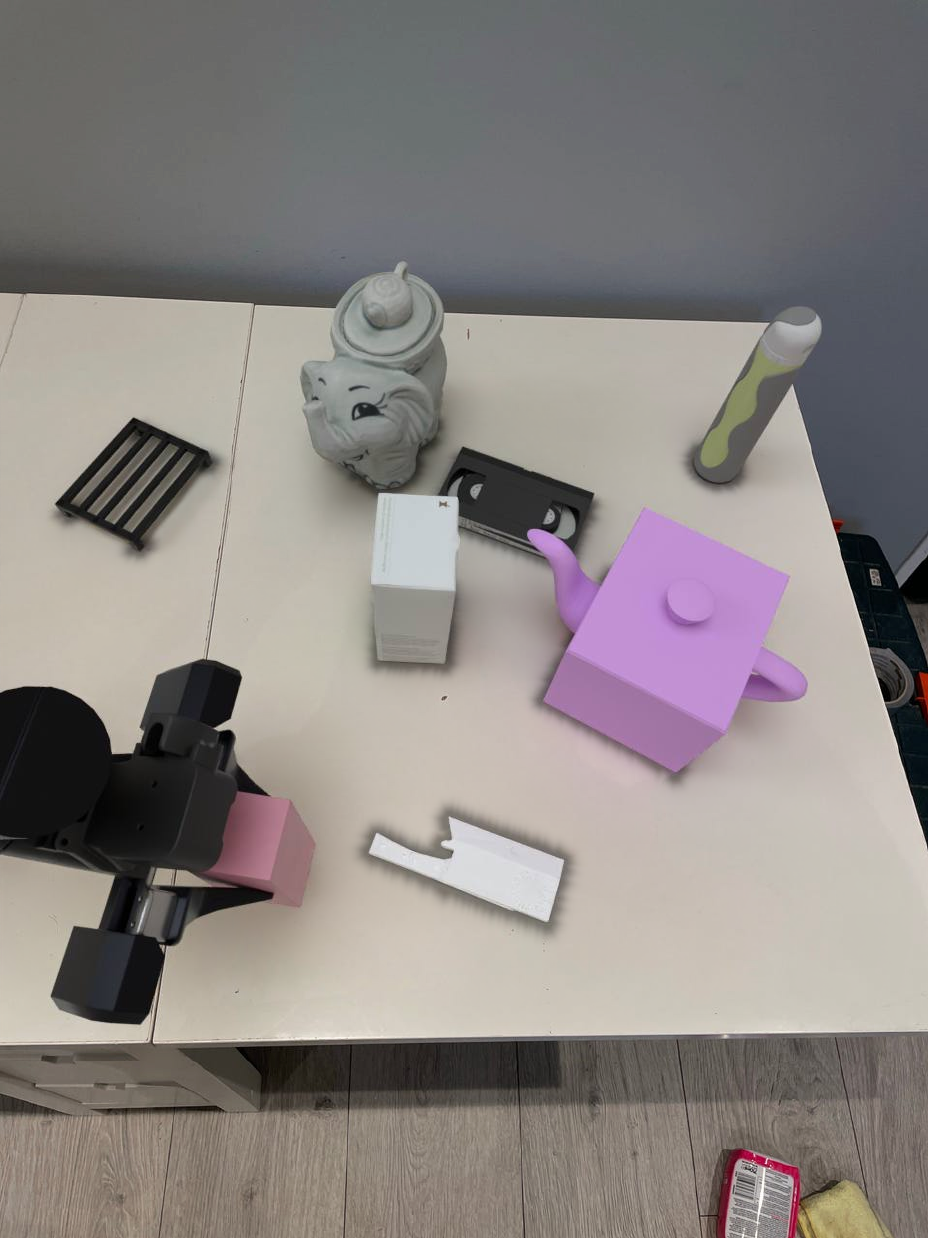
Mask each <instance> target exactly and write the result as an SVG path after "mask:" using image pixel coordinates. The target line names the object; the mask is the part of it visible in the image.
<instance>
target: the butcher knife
mask: <svg viewBox="0 0 928 1238" xmlns="http://www.w3.org/2000/svg"><path fill="white" fill-rule="evenodd" d="M448 824H449V829H450V836H451V839H450V840H449V839H445V840H443V841H441V843H440V846H441V847H442V848H444V849H447V850H449V851H452V852H453V853H452V855H451V857H449V858H445V859H443V858H439V857H436V856H431V855H428V854H427V855H426V854H424V853H420V852H417V851H414V850H411V849H410V848H407V847H405V846H403V845H401V844H399V843H397V842H395V841H393V840H392V839H389V838H388V837H386V836H384V835H382V834H381V833H379V832H376V834H375V835H374V838H373V840H372V843H371V846H370V848H369V850H368V855H371V856H372V857H373V856H374V857H376V858H378V859H380V860H381V859H382V860H384V861H386V862H388V863H391V864H394V865H397V866H399V867H402V868H405V869H407V870H410V871H412V872H415V873H417V874H420V875H423V876H424V877H428V878H430V879H433V880H436V881H438V882H440V883H442V884H445V885H447V886H450V887H452V888H455V889H457V890H460V891H461V892H463V893H464V892H465V893H468V894H469V895H472V896H474V897H476V898H479V899H481V900H483V901H486V902H489V903H492V904H494V905H496V906H499V907H500V908H504V909H506V910H509V911H512V912H514V911H516V912H519V913H520V914H524V915H525V916H529V917H531V918H534V919H537V920H539V921H542V922H544V923H548V922H549V919H550V916H551V913H552V910H553V906H554V904H555V899H556V895H557V891H558V888H559V885H560V881H561V877H562V872H563V868H564V863H565V859H562V858H560V857H557V856H554V855H552V854H549V853H547V852H544V851H541V850H539V849H536V848H534V847H531V846H528V845H526V844H523V843H520V842H518V841H516V840H515V841H514V840H512V839H509V838H507V837H504V836H501V835H499V834H497V833H494V832H492V831H488V830H485V829H483V828H480V827H477V826H476V825H472V824H470V823H467V822H464V821H462V820H459V819H457V818H454V817H451V816H448Z"/></svg>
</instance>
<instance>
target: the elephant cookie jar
mask: <svg viewBox="0 0 928 1238" xmlns="http://www.w3.org/2000/svg"><path fill="white" fill-rule="evenodd" d="M409 271H410V267H409V264H408V263H407V262H406V261H405V260H404V261H400V262H398V263H397V265H396V266H395V269H394V271H384V272H379V273H374V274H371V275H368V276H366V277H363V278H361V279H359V280H358V281H357V282H355V283H354V284H353V285H351V286H350V287H349V288H348V290H347V291H346V292H345V293H344V295H343V296H342V297H341V298H340V300H339V302H338V303H337V305H336V306H335V309H334V311H333V314H332V319H331V325H330V331H329V335H330V339H331V345H332V348H333V349H334V351H335V352H334V354H333V359H331V360H307V361H305V362H304V363H303V364H302V366H301V370H300V376H299V379H300V386H301V391H302V395H303V396H304V399H305V403H303V405H302V406H301V410H302V412H303V414H304V417H305V419H306V424H307V428H308V433H309V439H310V442H311V445H312V447H313V449H314V451H315V453H316V454H317V455H318V456H319V457H320V458H322V459H323V460H325V461H328V462H330V463H339V464H340V465H341V466H342V467H344V468H346V469H348V470H350V471H351V472H353V473H355V474H358V475H359V476H361V477H362V478H363V479H364V480H365V481H366V482H367V483H368V484H370V485H371V486H373V487H375V488H376V489H379V490H390V489H395V488H398V487H401V486H402V485H404V484H406V483H407V482H409V481H410V480H411V479H412V478H413V476H414V475H415V472H416V467H417V460H416V459H417V455H418V452H419V450H420V449H421V448H423V447H424V446H426V445H428V444H429V443H430V442H432V441H433V440H434V439H435V437H436V435H437V433H438V430H439V416H440V414H441V409H442V405H443V396H444V394H443V388H444V385H445V382H446V376H447V372H448V371H447V369H448V358H447V353H446V348H445V345H444V342H443V340H442V338H441V334H442V332H443V331H444V323H445V309H444V305H443V302H442V300H441V298H440V296H439V295H438V293H437V291H435V289H434V288H433V287H432V286H431V285H430V284H429V283H427V282H426V281H425V280H423V279H422V278H420V277H418V276H417V275H413V274H411V273H409Z"/></svg>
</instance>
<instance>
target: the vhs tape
mask: <svg viewBox="0 0 928 1238" xmlns="http://www.w3.org/2000/svg"><path fill="white" fill-rule="evenodd" d="M437 496H449V497H458V501H459V515H458V527H460V528H463V529H465V530H467V531H470V532H473V533H476V534H478V535H482V536H484V537H486V538H489V539H492V540H495V541H498V542H500V543H504V544H506V545H509V546H510V547H511V546H512V547H514V548H517V549H519V550H522V551H524V552H527V553H529V554H533V555H536V556H538V557H540V558H544V559H546V560H547V558H546V557H545V556H544V555H543V554H542V553H541V552H540V551H539V550H538V549H537V548H536V547H535V546H534V545H533V544H532V543H531V542H530V540H529V539H528V536H527V533H528V531H529V530H531V529H539V530H543V531H546V532H548V533H550V534H552V535H554V536H556V537H557V538H559V539H560V540H561V541H563V542H564V543H565V544H566V545H567V546H568V547H569V548H570V550H571V551H572V552H573V551H574V547H575V546H576V543H577V540H578V538H579V535H580V533H581V530H582V527H583V525H584V522H585V519H586V517H587V514H588V512H589V510H590V507H591V504H592V501H593V499H594V497H595V492H593V491H590V490H587V489H584V488H582V487H579V486H577V485H572V484H570V483H567V482H564V481H563V480H558V479H556V478H553V477H550V476H548V475H545V474H542V473H540V472H536V471H533V470H527V469H525V468H524V467H522V466H519V465H516V464H514V463H511V462H508V461H506V460H503V459H500V458H497V457H494V456H492V455H489V454H486V453H483V452H480V451H477V450H475V449H472V448H469V447H466V446H463V445H462V447H461V448H460V450H459V452H458V454H457V457H456V458H455V460H454V462H453V463H452V466H451V468H450V470H449V471H448V474H447V476H446V478H445V480H444V482H443V484H442V486H441V488H440V490H439V492H438V493H437Z"/></svg>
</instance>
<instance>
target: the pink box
mask: <svg viewBox="0 0 928 1238" xmlns="http://www.w3.org/2000/svg"><path fill="white" fill-rule="evenodd" d="M270 796H271V795H270ZM270 796H263V795H257V794H251V793H245V792H239V791H237V795H236V799H235V802H234V803H233V804H232V805H231V808H230V811H229V815H228V819H227V823H226V827H225V830H224V834H223V844H224V845H223V849H222V852H221V856H220V858H219V860H218V861H217V863H216V864H215V865H214V866H213V867H212V868H211V869H209V870H208V871H205V872H191V871H187V872H189V873H190V874H192V875H194V876H195V877H197V879H200V880H202V881H203V882H205V883H206V884H208V885H210V886H211V887H235V888H256V889H261V890H264V891H268V892H271V893H274V896H273V899H271V900H266V901H262V902H261V903H267V904H273V905H280V906H285V907H292V908H298V909H301V908H302V905H303V900H304V896H305V892H306V888H307V884H308V879H309V875H310V870H311V866H312V862H313V858H314V855H315V849H316V842H315V840H314V838H313V837H312V834H311V833H310V831H309V829H308V828H307V826H306V825H305V823H304V820H303V819H302V817H301V816H300V814H299V812H298V810H297V809H296V807H295V805H294V804H293V802H292V800H291V799H288V798H281V797H275V796H271V797H270Z"/></svg>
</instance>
